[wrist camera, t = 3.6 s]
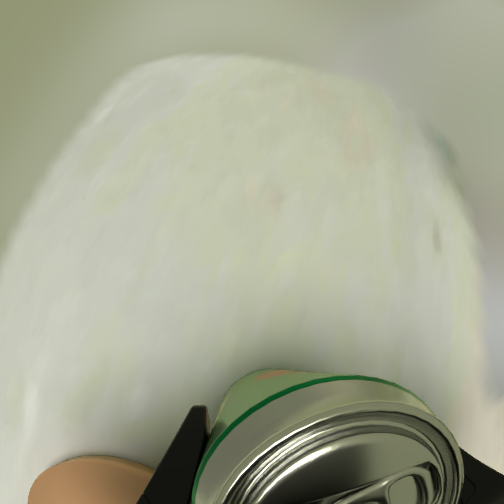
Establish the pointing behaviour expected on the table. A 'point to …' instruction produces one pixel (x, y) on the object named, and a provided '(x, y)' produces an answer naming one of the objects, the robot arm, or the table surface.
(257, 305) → the table surface
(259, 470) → the soda can
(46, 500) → the terracotta plate
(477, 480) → the robot arm
